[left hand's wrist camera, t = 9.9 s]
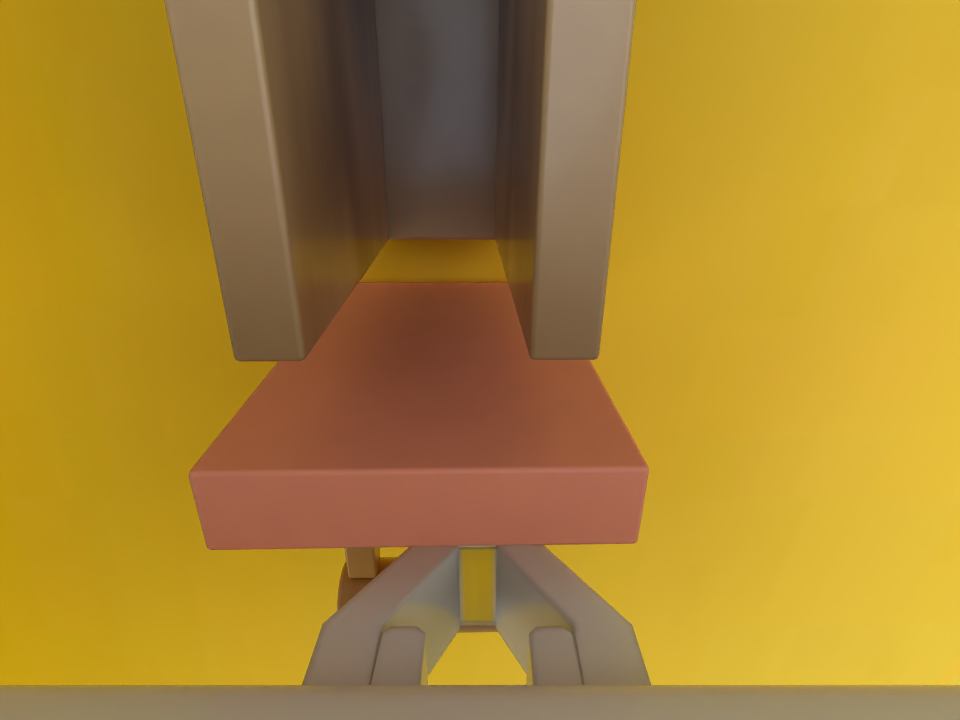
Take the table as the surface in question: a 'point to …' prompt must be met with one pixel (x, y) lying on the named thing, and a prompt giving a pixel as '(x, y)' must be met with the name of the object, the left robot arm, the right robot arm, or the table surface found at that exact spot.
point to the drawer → (412, 306)
